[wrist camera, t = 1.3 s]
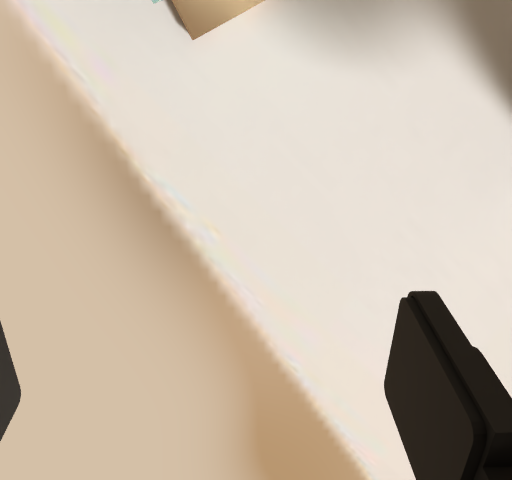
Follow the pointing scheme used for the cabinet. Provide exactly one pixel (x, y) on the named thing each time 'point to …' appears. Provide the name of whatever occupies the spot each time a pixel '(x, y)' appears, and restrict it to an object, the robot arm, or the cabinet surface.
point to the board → (210, 13)
